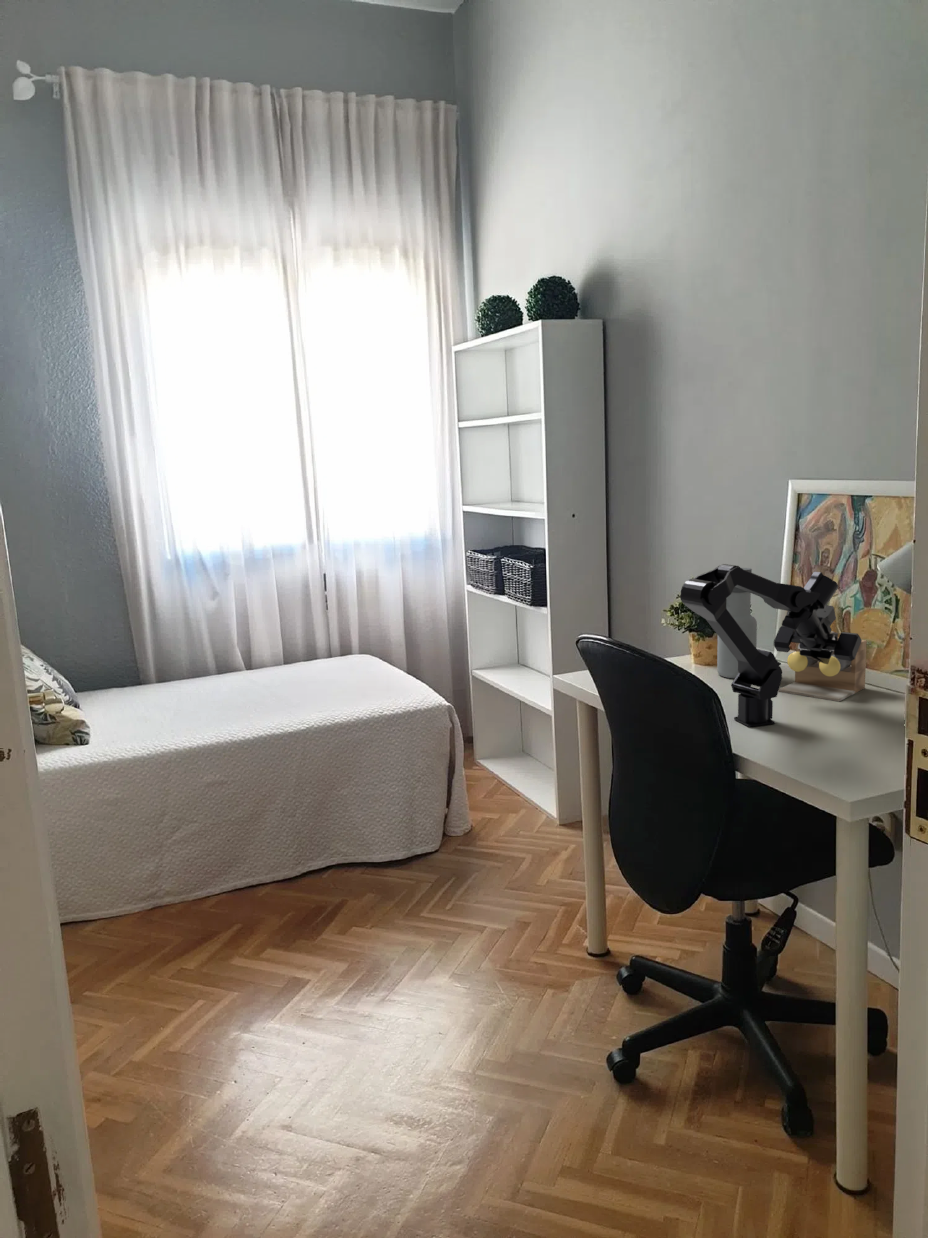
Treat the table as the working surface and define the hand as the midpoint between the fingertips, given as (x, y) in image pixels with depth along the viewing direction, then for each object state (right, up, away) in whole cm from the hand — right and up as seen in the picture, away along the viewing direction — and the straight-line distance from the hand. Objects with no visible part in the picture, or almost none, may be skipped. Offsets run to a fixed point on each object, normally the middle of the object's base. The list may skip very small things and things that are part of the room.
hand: (827, 662), depth 224 cm
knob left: (-2, -2, +10) cm, 10 cm away
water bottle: (-14, -5, +27) cm, 30 cm away
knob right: (+4, -3, +4) cm, 6 cm away
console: (+2, -7, +9) cm, 12 cm away
